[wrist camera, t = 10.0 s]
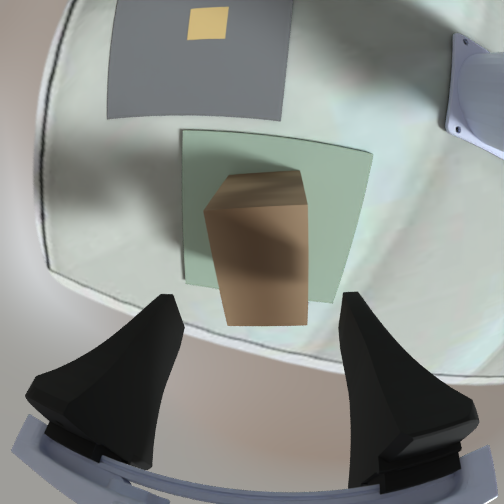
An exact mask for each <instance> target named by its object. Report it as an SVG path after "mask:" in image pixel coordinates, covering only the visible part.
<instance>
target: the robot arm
mask: <svg viewBox="0 0 504 504" xmlns="http://www.w3.org/2000/svg"><path fill="white" fill-rule="evenodd" d="M463 40H464V41H465V43H466V45H465V44H464V42H463ZM456 127H458V132H456ZM445 128H446V131H447V132H448V133H449V134H452V135H454V136H456V137H459V138H461V139H463V140H465V141H468V142H470V143H472V144H474V145H476V146H478V147H480V148H482V149H484V150H486V151H488V152H490V153H492V154H494V155H495V156H497V157H499V158H501V159H503V160H504V52H497V53H490V52H489V51H488V50H486V49H485V48H483V47H482V46H480V45H478V44H477V43H475V42H474V41H472V40H470V39H469V38H467V37H465V36H464V35H462V34H460V33H454V34H453V51H452V72H451V84H450V94H449V102H448V109H447V116H446V123H445ZM184 328H185V327H184V324H183V321H182V318H181V316H180V313H179V310H178V307H177V304H176V301H175V299H174V296H173V294H160V295H159V296H158V297H157V298H156V299H154V300H153V301H152V302H151V303H150V304H149V305H148V306H146V307H145V308H144V309H143V310H142V311H141V312H140V313H139V314H137V315H136V316H135V317H134V318H133V319H132V320H131V321H130V322H128V323H127V324H126V325H125V326H124V327H122V328H121V329H120V330H119V331H118V332H116V333H115V334H114V335H113V336H111V337H110V338H109V339H107V340H106V341H105V342H103V343H102V344H101V345H99V346H98V347H96V348H95V349H93V350H91V351H90V352H88V353H86V354H85V355H83V356H81V357H80V358H78V359H76V360H74V361H72V362H70V363H68V364H66V365H64V366H62V367H59V368H57V369H55V370H52V371H49V372H46V373H44V374H41V375H38V376H36V377H35V379H34V381H33V382H32V384H31V386H30V388H29V389H28V391H27V393H26V395H25V397H26V399H27V400H28V402H29V403H30V404H31V405H32V406H33V407H34V408H35V409H36V410H37V411H39V412H40V413H41V414H42V415H43V416H44V417H45V418H47V419H48V420H49V421H50V422H49V424H48V425H46V424H45V423H43V422H42V421H40V420H39V419H37V418H35V417H34V416H32V415H31V414H29V415H28V416H27V418H26V420H25V422H24V424H23V426H22V428H21V430H20V432H19V434H18V436H17V438H16V441H15V443H14V445H13V447H12V449H11V451H12V453H13V454H15V455H16V456H17V457H18V458H19V459H21V460H22V461H23V462H24V463H25V464H27V465H28V466H29V467H30V468H31V469H32V470H34V471H35V472H36V473H37V474H39V475H40V476H41V477H42V478H43V479H45V480H46V481H47V482H48V483H49V484H51V485H52V486H53V487H55V488H56V489H57V490H59V491H60V492H61V493H63V494H64V495H66V496H67V497H68V498H70V499H71V500H73V501H74V502H76V503H77V504H170V501H169V500H168V499H165V498H162V497H159V496H156V495H154V494H152V493H150V492H148V491H145V490H142V489H140V488H137V487H134V486H132V485H131V483H130V482H129V481H131V482H133V483H137V484H139V485H142V486H145V487H148V488H151V489H155V490H158V491H162V492H165V493H169V494H173V495H177V496H181V497H185V498H190V499H195V500H199V501H204V502H210V503H216V504H487V503H488V502H490V501H492V500H493V499H495V498H497V496H498V489H497V482H496V476H495V470H494V464H493V459H492V455H491V450H490V446H489V445H486V446H484V447H482V448H480V449H477V450H475V451H473V452H471V453H468V454H466V455H464V456H462V457H460V458H459V454H458V452H459V451H461V448H462V447H461V443H460V441H462V440H463V439H464V438H465V437H467V436H468V435H469V434H470V433H471V432H472V431H473V430H474V429H476V427H477V426H478V424H479V418H478V415H477V411H476V408H475V405H474V403H473V400H472V399H470V398H468V397H467V396H465V395H463V394H461V393H460V392H458V391H456V390H454V389H453V388H451V387H450V386H448V385H447V384H445V383H444V382H442V381H441V380H439V379H438V378H437V377H435V376H434V375H433V374H431V373H430V372H429V371H428V370H426V369H425V368H424V367H423V366H421V365H420V364H419V363H418V362H417V361H416V360H415V359H413V358H412V357H411V356H410V355H409V354H408V353H407V352H406V351H405V350H404V349H403V348H402V347H401V345H400V344H399V343H398V342H397V341H396V340H395V339H394V338H393V337H392V335H391V334H390V333H389V332H388V331H387V330H386V328H385V327H384V326H383V325H382V323H381V322H380V321H379V320H378V318H377V317H376V316H375V314H374V313H373V312H372V310H371V309H370V308H369V306H368V305H367V303H366V302H365V301H364V299H363V298H362V296H361V295H360V294H359V293H358V292H343V298H342V306H341V313H340V320H339V327H338V329H339V341H340V350H341V355H342V360H343V366H344V371H345V376H346V381H347V387H348V392H349V400H350V418H351V419H350V420H351V451H350V471H349V483H348V489H342V490H332V491H318V492H262V491H248V490H237V489H229V488H221V487H215V486H209V485H203V484H197V483H192V482H188V481H183V480H179V479H174V478H170V477H166V476H163V475H159V474H155V473H152V472H149V471H145V470H148V469H150V468H151V467H152V460H153V446H154V438H155V430H156V424H157V419H158V413H159V409H160V404H161V400H162V395H163V392H164V389H165V386H166V383H167V380H168V378H169V375H170V372H171V370H172V367H173V364H174V362H175V359H176V357H177V354H178V351H179V349H180V345H181V341H182V337H183V333H184ZM124 463H125V464H124ZM127 464H128V465H127ZM130 465H131V466H130ZM133 466H134V467H133ZM136 467H137V468H136ZM139 468H140V469H139ZM142 469H143V470H142Z"/></svg>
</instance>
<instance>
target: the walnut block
mask: <svg viewBox="0 0 504 504" xmlns="http://www.w3.org/2000/svg"><path fill="white" fill-rule="evenodd" d="M203 212H204V218H205V223H206V228H207V233H208V238H209V243H210V248H211V253H212V258H213V263H214V267H215V272H216V277H217V281H218V286H219V290H220V295H221V299H222V304H223V308H224V312H225V317H226V321H227V325H228V326H298V325H307V318H308V268H309V245H308V203H307V199H306V194H305V189H304V185H303V181H302V176H301V172H300V170H297V171H277V172H261V173H247V174H235V175H228V177H227V178H226V179H225V181H224V182H223V183H222V185H221V186H220V188H219V189H218V190H217V192H216V193H215V195H214V196H213V197H212V199H211V200H210V202H209V203H208V205H207V206H206V207H205V209H204V210H203Z"/></svg>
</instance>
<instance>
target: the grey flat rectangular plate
mask: <svg viewBox="0 0 504 504" xmlns="http://www.w3.org/2000/svg"><path fill="white" fill-rule="evenodd" d="M292 7H293V0H118V3H117V8H116V14H115V20H114V27H113V34H112V42H111V51H110V62H109V76H108V102H107V119H114V118H125V117H140V116H165V115H200V116H226V117H241V118H253V119H264V120H273V121H281V114H282V105H283V96H284V87H285V77H286V68H287V58H288V48H289V38H290V28H291V17H292Z"/></svg>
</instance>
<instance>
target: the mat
mask: <svg viewBox="0 0 504 504" xmlns="http://www.w3.org/2000/svg"><path fill="white" fill-rule="evenodd" d="M372 159H373V154H372V153H368V152H364V151H359V150H355V149H350V148H345V147H340V146H335V145H329V144H324V143H318V142H312V141H306V140H299V139H293V138H285V137H277V136H269V135H260V134H250V133H238V132H224V131H204V130H183V142H182V215H183V244H184V264H185V280H186V284H190V285H196V286H202V287H209V288H215V289H219V286H218V281H217V277H216V272H215V267H214V263H213V258H212V253H211V248H210V243H209V238H208V233H207V228H206V223H205V218H204V212H203V210H204V209H205V207H206V206H207V205H208V203H209V202H210V200H211V199H212V197H213V196H214V195H215V193H216V192H217V190H218V189H219V188H220V186H221V185H222V183H223V182H224V181H225V179H226V178H227V177H228V175H235V174H247V173H261V172H277V171H297V170H300V172H301V176H302V181H303V185H304V189H305V194H306V199H307V203H308V245H309V268H308V301H315V302H324V303H333V301H334V298H335V295H336V292H337V289H338V286H339V283H340V280H341V277H342V274H343V271H344V268H345V264H346V261H347V258H348V255H349V251H350V248H351V244H352V241H353V237H354V234H355V230H356V227H357V223H358V219H359V215H360V211H361V208H362V204H363V199H364V195H365V191H366V187H367V182H368V178H369V173H370V169H371V164H372Z"/></svg>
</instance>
